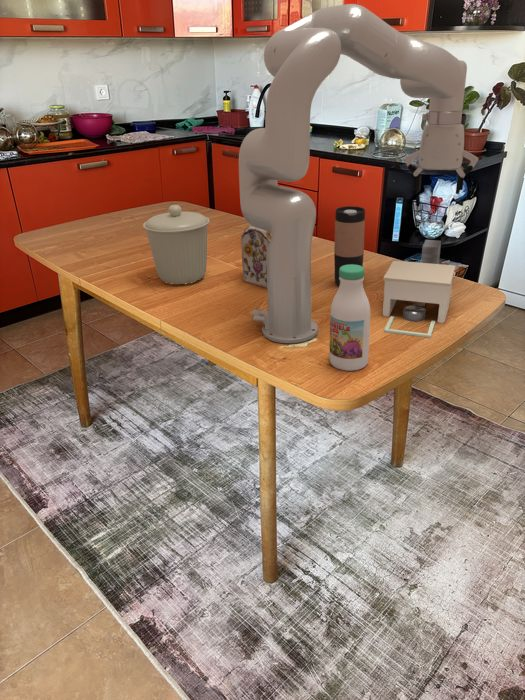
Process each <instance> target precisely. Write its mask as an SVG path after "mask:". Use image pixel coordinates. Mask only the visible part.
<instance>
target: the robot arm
mask: <svg viewBox="0 0 525 700" xmlns="http://www.w3.org/2000/svg"><path fill="white" fill-rule="evenodd" d="M341 55H343V56H346V57H348V58H350V59H352V60H353V61H355V62H357V63H358V64H360V65H362V66H363V67H365V68H367V69H368V70H370V71H371V72H373V73H374V74H376V75H378V76H381V77H385V78H389V79H397V80H400V81H399V84H400V89H401V91H402V92H403V94H405V96H407V97H410V98H414V99H429V106H428V107H429V109H428V111H427V113H422V114H421V115H422V116H421V117H422V119H421V120H422V121H426V122H427V124H425V125H424V126H423V130H422V134H421V138H420V139H421V140H420V144H419V145H420V146H419V150H416V151H414V152H412V153H410V154H408V155H406V156H405V157H404V162H405V163H406V166H407V168H408V170H409V171H410V172H411V174H412V175H413V176H414V179H413V180H414V181H413V189H414V190H415V193H416V194H417V193H420V192H421V187H422V174H421V172H423V170H429V171H430V170H431V171H432V170H434V171H435V170H436V171H439V170H440V171H456V173H457V174H458V176H457V178H456V187H455V195H459V194H460V192H461V191H463V189H464V180H465V176H467V175H469V173H470V172H471V171H473V169H474V168H475V166H476V164H477V163H478V162H479V157H477V156H476V155H474V154H472V153H471V152H469V151H467V150H466V149H465V148H464V147H465V126H464V124H462V116H463V108H464V99H465V92H466V91H465V90H466V81H467V71H468V65H467V62H466V61H464V60H460V59H458V57H456V56H454V55H453V54H452V53H451V52H450V51H448V50H446V49H444V48H443V47H441V46H438V45H436V44H433V43H430V42H427V41H424V40H422V39H419V38H417V37H414V36H410V35H407V34H404V33H402V32H400V31H398V30H397V29H396V28H394V27H393V26H391V25H390V24H388V23H387V22H386V21H384V19H382V18H380V17H379V16H377V14H375V13H373V12H372V11H371V10H369V9H368V8H367V7H365V6H363V5H361V4H356V3H346V4H341V5H340V4H339V5H333V6H327V7H326V6H325V7H323V8H319V9H317V10H315V11H313V12H311V13H309V14H307V15H306V16H303V17H302V18H300V19H298V20H296V21H295V22H293V23H291V24H289V25H287V26H285V27H284V28H282V29H280V30H278V31H276V32H275V33H273V35H272V36H270V38H268V41H267V42H266V44H265V46H264V52H263V62H264V66H265V69H266V70H267V71H268V73H269V74H270V75H271V76H272V77H274V78H272V80H271V84H270V85H269V88H268V92H267V95H266V101H265V121H264V124H265V125H264V126H265V127H259V128H256V129H253V130H251V131H249V133H247V134H246V136H245V137H244V138H243V140H242V141H241V144H240V148H239V152H238V179H239V182H238V183H239V199H240V201H239V202H240V210H241V213H242V217H243V218H244V220H245V221H246V222H247V223H248V225H249V224H250V225H252V226H254V227H256V228H259V229H262V230H265V231H268V232H271V233H272V238H271V241H270V243H269V246H268V249H267V253H266V267H267V288H266V289H267V308H268V309H266V310H264V309H263V310H262V309H258V308H253V310H252V312H251V313H252V317H253V319H252V321H253V322H258V323H259V322H261V323H263V325H262V326H261V331H262V333H261V334H263V337H264V338H266V339H267V340H269V341H272V342H274V343H275V342H276V343H281V344H296V343H303V342H306V341H309V340H312V339H313V338H315V337H316V336H317V334H318V333H319V325H318V324H317V322H316V321H314V320H313V319H312V243H313V242H312V241H313V234H314V230H315V226H316V225H315V224H316V220H317V219H316V218H317V210H316V206H315V203H314V201H313V199H312V198H311V197H310V196H309V195H308V194H307V193H305V192H303V191H301V190H299V189H296V188H291V187H287V186H282V185H278V181H280V182H288V183H291V182H297V181H300V180H301V179H303V178H304V177H305V176H306V174H307V172H308V170H309V165H310V152H311V151H310V150H311V149H310V148H311V147H310V144H311V142H310V141H311V113H312V112H311V110H312V103H313V100H314V97H315V95H316V93H317V91H318V89H319V87H320V86H321V85H322V84H323V82H324V81H325V80H326V79H327V78H328V76H330V75H331V74H332V73H333V71H334V70H335V69H336V67H337V65H338V64H339V61H340V59H341V58H340V57H341ZM416 158H418V167H416V166H415V165H414V162H413V159H416ZM464 159H467V160H469V161H470V163H469V164H468V166H466V167H465V168H464V167H463V166H462V164H463V160H464Z"/></svg>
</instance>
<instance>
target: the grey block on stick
mask: <svg viewBox="0 0 525 700" xmlns="http://www.w3.org/2000/svg"><path fill="white" fill-rule="evenodd" d="M441 244H442V240H435V239H434V240H433V239H425V240H424V243H422V247H421V248H422V249H421V258H420V259H421V260H420V263H430V264H440V255H441V247H442V245H441ZM425 305H426V303H425V302H415V301H411V306H420V307H425Z"/></svg>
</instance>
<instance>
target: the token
mask: <svg viewBox="0 0 525 700" xmlns="http://www.w3.org/2000/svg"><path fill="white" fill-rule="evenodd" d="M426 311H427V310H426V308H425V307H424V306H417V305H407V306H404V307H403V310H402V313H403V314H402V318H403V319H404V320H406V321H409V322H415V323H416V322H422V321H424V320H425V319H426Z"/></svg>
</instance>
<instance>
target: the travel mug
mask: <svg viewBox="0 0 525 700" xmlns="http://www.w3.org/2000/svg"><path fill="white" fill-rule="evenodd" d="M334 213H335V214H334V215H335V220H334V221H335V222H334V252H333V253H334V254H333V255H334V256H333V258H334V261H333V263H334V285H335V286H336V287H338V288H339V286H340V279H339V277H340V276H339V269H340V267H341V266H344V265H350V264H354V265H360V266H362V267H363V268H364V255H365V254H364V252H365V226H366V225H365V221H366V209H365V208H364V207H361V206H349V205H348V206H340V207H338V208H336V209H335V212H334Z"/></svg>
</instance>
